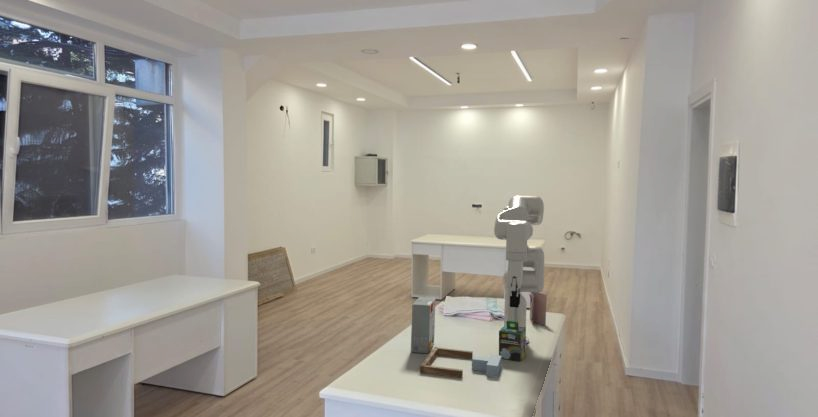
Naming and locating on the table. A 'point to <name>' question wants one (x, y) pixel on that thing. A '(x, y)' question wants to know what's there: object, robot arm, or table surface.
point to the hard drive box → (423, 325)
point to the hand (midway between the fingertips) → (514, 305)
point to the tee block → (487, 364)
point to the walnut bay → (443, 371)
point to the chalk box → (512, 341)
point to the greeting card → (538, 307)
